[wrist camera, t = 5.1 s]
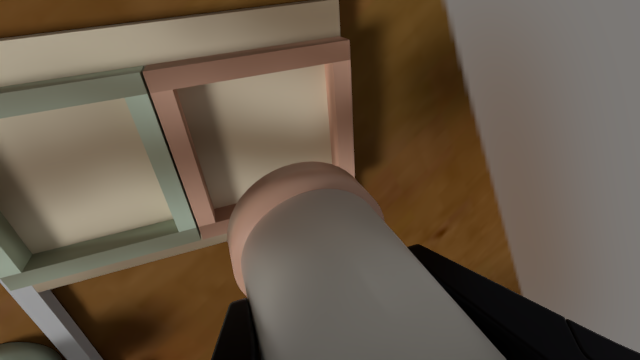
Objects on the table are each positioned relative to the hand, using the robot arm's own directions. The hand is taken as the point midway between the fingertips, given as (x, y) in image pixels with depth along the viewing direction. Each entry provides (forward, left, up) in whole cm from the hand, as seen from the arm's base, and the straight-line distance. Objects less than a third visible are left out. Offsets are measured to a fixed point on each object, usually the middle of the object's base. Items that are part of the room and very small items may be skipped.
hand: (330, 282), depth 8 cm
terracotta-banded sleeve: (0, 0, -2) cm, 2 cm away
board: (0, +4, -11) cm, 11 cm away
